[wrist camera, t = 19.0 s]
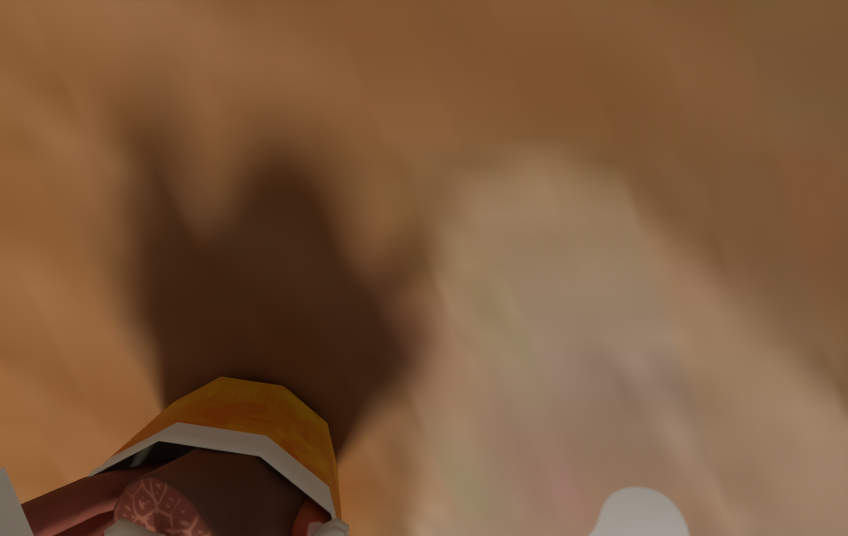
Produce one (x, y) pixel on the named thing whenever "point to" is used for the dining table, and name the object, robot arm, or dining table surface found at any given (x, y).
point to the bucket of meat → (209, 473)
